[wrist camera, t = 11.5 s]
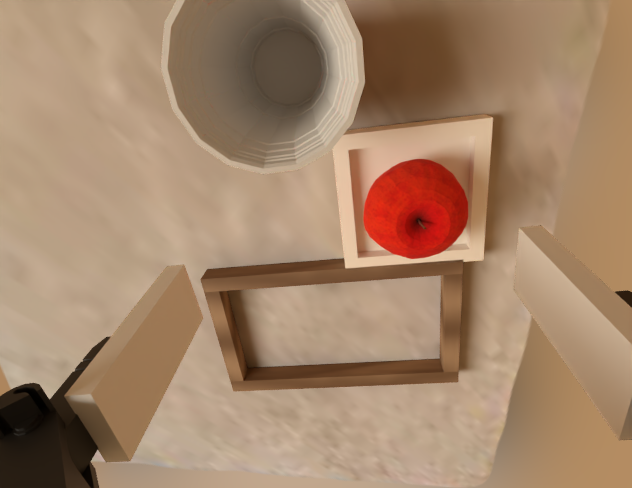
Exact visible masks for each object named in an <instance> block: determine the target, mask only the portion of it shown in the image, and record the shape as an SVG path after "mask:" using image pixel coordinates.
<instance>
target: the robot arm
mask: <svg viewBox="0 0 632 488" xmlns="http://www.w3.org/2000/svg"><path fill="white" fill-rule="evenodd" d="M514 291H515V292H516V294H517V295H518V297H519V298H520V299H521V301H522V302H523V304H524V305H525V307H526V308H527V309H528V311H529V312H530V314H531V315H532V317H533V318H534V319H535V321H536V322H537V324H538V325H539V327H540V328H541V329H542V331H543V332H544V334H545V335H546V336H547V338H548V339H549V341H550V342H551V344H552V345H553V347H554V348H555V349H556V351H557V352H558V354H559V355H560V357H561V358H562V359H563V361H564V362H565V364H566V365H567V367H568V368H569V370H570V371H571V372H572V374H573V375H574V377H575V378H576V380H577V381H578V382H579V384H580V385H581V387H582V388H583V390H584V391H585V392H586V394H587V395H588V397H589V398H590V400H591V401H592V402H593V404H594V405H595V407H596V408H597V410H598V411H599V412H600V414H601V415H602V417H603V418H604V420H605V421H606V422H607V424H608V425H609V427H610V428H611V430H612V431H613V432H614V434H615V435H616V436H617V438H618V439H619V440H632V292H630V291H617V292H614V291H613V290H611V289H610V288H609V287H608V286H607V285H606V284H605V283H604V282H603V281H602V280H601V279H600V278H598V277H597V276H596V275H595V274H594V273H593V272H592V271H591V270H590V269H589V268H587V267H586V266H585V265H584V264H583V263H582V262H581V261H580V260H579V259H577V258H576V257H575V256H574V255H573V254H572V253H571V252H570V251H569V250H568V249H567V248H565V247H564V246H563V245H562V244H561V243H560V242H559V241H558V240H557V239H556V238H554V237H553V236H552V235H551V234H550V233H549V232H548V231H547V230H546V229H545V228H543V227H542V226H541V225H540V226H531V227H522V228H519V235H518V246H517V258H516V269H515V280H514ZM202 319H203V316H202V313H201V310H200V307H199V305H198V302H197V299H196V296H195V293H194V291H193V288H192V285H191V282H190V279H189V277H188V274H187V271H186V268H185V266H184V265H176V266H167V267H166V268H165V269H164V271H163V272H162V273H161V274H160V276H159V277H158V278H157V279H156V281H155V282H154V283H153V284H152V286H151V287H150V288H149V289H148V291H147V292H146V293H145V295H144V296H143V297H142V298H141V300H140V301H139V302H138V303H137V305H136V306H135V307H134V308H133V310H132V311H131V312H130V313H129V315H128V316H127V317H126V318H125V320H124V321H123V322H122V324H121V325H120V326H119V327H118V329H117V330H116V331H115V332H114V334H113V335H112V336H111V337H106V338H105V339H103V340H102V341H101V342H99V343H98V344H97V345H96V346H94V347H93V348H92V349H91V350H90V352H89V353H88V354H87V355H86V356H85V358H84V359H83V362H81V363H80V364H79V365H78V366H77V367H76V369H75V372H72V373H71V375H70V376H69V377H68V378H67V380H66V381H65V382H64V383H63V384H62V386H61V387H60V388H59V389H58V390H57V392H56V393H55V394H54V395H53V396H52V398H51V399H50V400H49V398H48V397H47V395H46V394H45V392H44V391H43V389H42V388H41V386H40V385H39V384H36V383H29V384H24V385H21V386H18V387H16V388H13V389H11V390H10V391H8V392H6V393H4V394H3V395H2V396H0V488H99V485H98V480H97V475H96V471H95V468H94V467H93V465H92V463H91V462H90V461H91V460H92V458H93V456H94V455H95V453H96V451H97V450H99V452H100V454H101V455H102V457H103V458H104V460H105V461H106V462H124V461H131V459H132V457H133V455H134V453H135V451H136V449H137V447H138V445H139V443H140V441H141V439H142V437H143V435H144V433H145V431H146V429H147V427H148V425H149V423H150V421H151V419H152V417H153V415H154V413H155V412H156V410H157V408H158V406H159V404H160V402H161V400H162V398H163V396H164V394H165V392H166V390H167V388H168V386H169V384H170V382H171V380H172V378H173V376H174V374H175V372H176V370H177V368H178V366H179V364H180V362H181V361H182V359H183V357H184V355H185V353H186V351H187V349H188V347H189V345H190V343H191V341H192V339H193V337H194V335H195V333H196V331H197V329H198V327H199V325H200V323H201V321H202Z"/></svg>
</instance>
